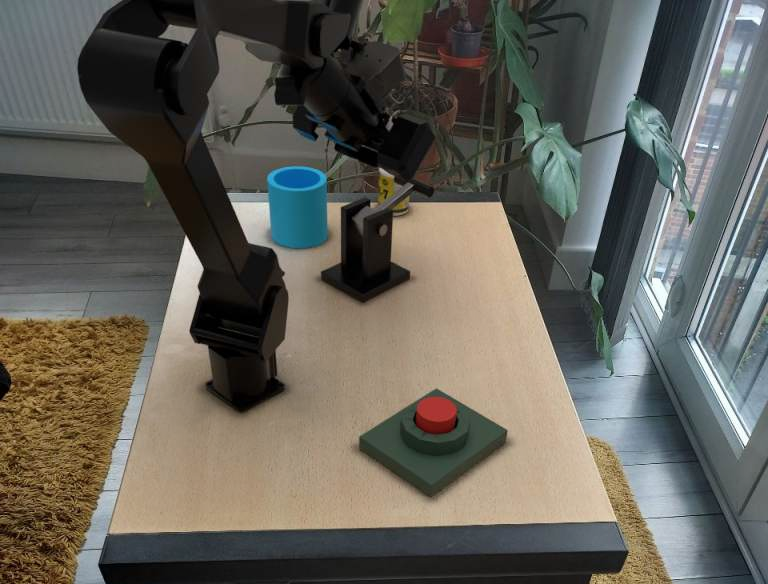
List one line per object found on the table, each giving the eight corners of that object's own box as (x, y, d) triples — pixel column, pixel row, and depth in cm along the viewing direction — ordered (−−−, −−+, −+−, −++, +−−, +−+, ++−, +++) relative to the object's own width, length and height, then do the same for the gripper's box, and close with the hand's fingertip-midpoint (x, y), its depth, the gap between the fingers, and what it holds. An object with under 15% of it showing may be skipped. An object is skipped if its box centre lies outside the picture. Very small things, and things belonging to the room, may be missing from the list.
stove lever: (402, 182, 106) (399, 166, 104) (435, 197, 103) (433, 181, 101) (344, 228, 102) (340, 212, 100) (377, 244, 99) (374, 228, 97)
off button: (437, 440, 78) (438, 426, 77) (407, 422, 80) (408, 408, 79) (463, 422, 80) (464, 409, 79) (433, 405, 82) (435, 391, 81)
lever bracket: (368, 257, 110) (369, 188, 103) (410, 279, 106) (414, 208, 99) (320, 279, 105) (318, 208, 98) (362, 303, 102) (364, 230, 95)
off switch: (430, 497, 77) (433, 471, 74) (358, 448, 82) (359, 422, 79) (505, 442, 83) (510, 416, 81) (435, 400, 88) (437, 374, 85)
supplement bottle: (373, 205, 122) (374, 149, 116) (401, 201, 123) (404, 145, 117) (384, 218, 119) (386, 161, 113) (413, 214, 120) (416, 158, 114)
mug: (331, 246, 112) (330, 189, 106) (274, 250, 111) (270, 192, 105) (320, 209, 120) (318, 154, 114) (266, 211, 119) (262, 156, 113)
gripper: (431, 41, 79) (485, 128, 93) (306, 2, 88) (373, 87, 102) (374, 142, 81) (436, 213, 95) (257, 94, 90) (329, 165, 103)
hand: (393, 166), depth 98 cm, fingers closed
